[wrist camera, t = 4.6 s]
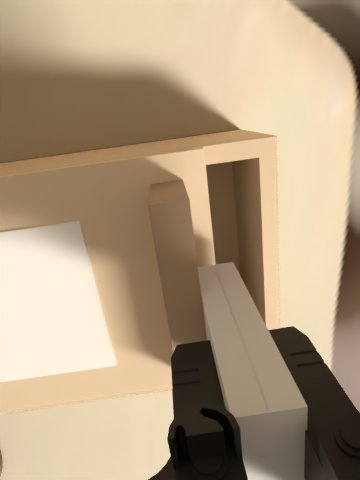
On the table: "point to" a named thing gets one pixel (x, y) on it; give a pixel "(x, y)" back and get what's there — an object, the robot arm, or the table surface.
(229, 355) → the robot arm
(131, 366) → the lid
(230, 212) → the box
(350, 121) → the table surface
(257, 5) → the table surface
